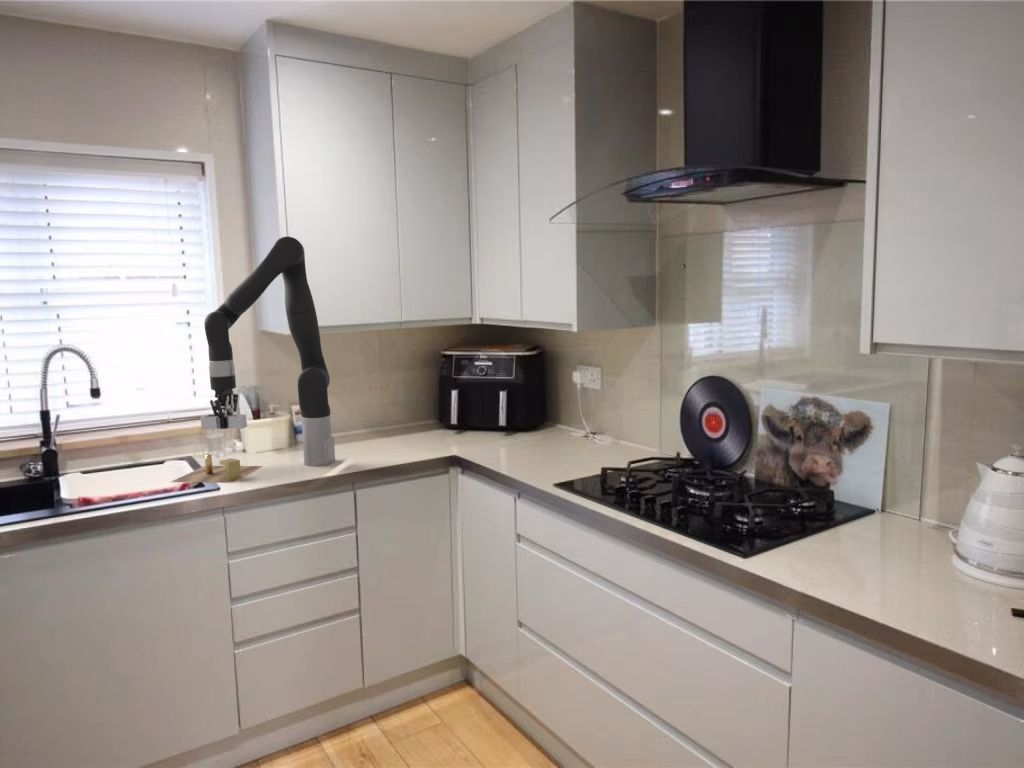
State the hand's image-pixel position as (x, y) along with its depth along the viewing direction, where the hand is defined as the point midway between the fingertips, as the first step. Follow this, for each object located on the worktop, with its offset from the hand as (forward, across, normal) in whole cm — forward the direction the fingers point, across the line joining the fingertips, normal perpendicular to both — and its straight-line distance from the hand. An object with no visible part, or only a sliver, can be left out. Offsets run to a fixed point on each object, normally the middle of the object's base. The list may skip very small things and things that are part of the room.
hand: (226, 427), depth 232 cm
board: (+15, -6, +1) cm, 16 cm away
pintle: (+14, -6, +4) cm, 15 cm away
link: (0, 0, 0) cm, 1 cm away
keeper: (+14, -12, -6) cm, 19 cm away
